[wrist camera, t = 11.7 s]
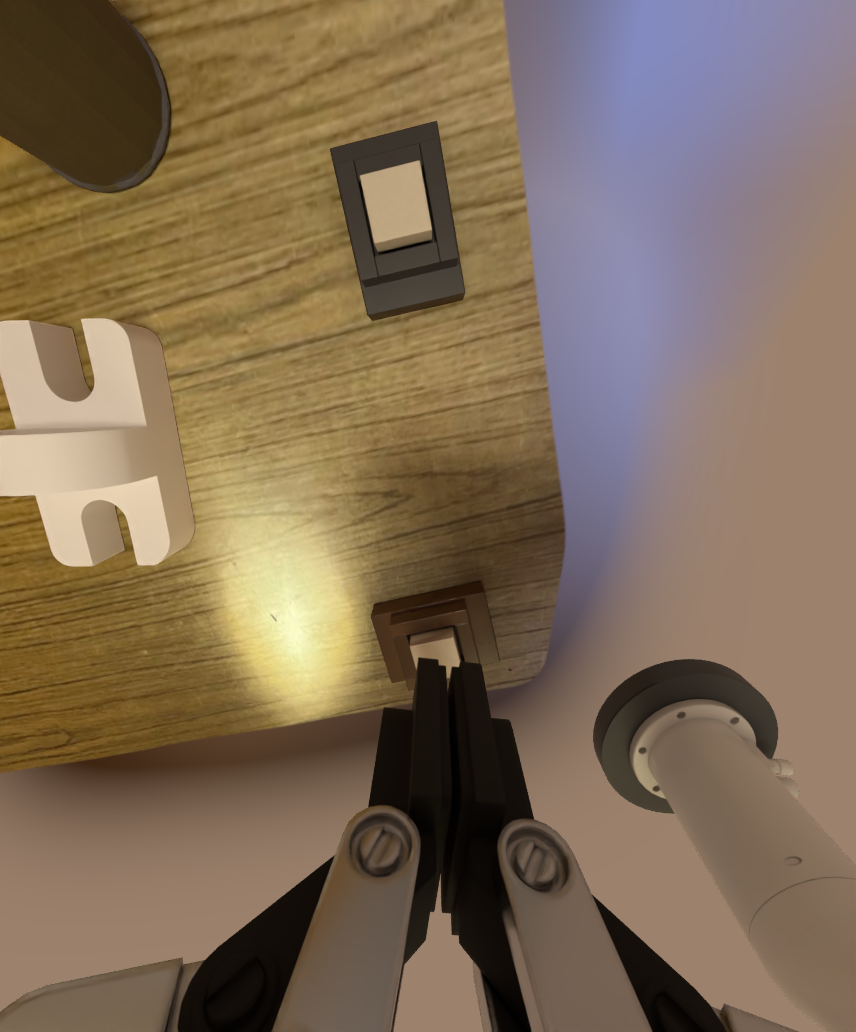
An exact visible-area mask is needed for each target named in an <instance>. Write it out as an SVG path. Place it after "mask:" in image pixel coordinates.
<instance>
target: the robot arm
mask: <svg viewBox="0 0 856 1032" xmlns="http://www.w3.org/2000/svg"><path fill="white" fill-rule="evenodd" d="M629 756H630V764H631V766H632V769H633V771H634V773H635V775H636V777H637V778H638V780H639V782H640V783H641V784H642V785H643V786H644V787H645V788H646V789H647V790H648V791H650V792H651V793H653V794H655V795H657V796H659V797H661V798H665V799H667V801H668V803H669V805H670V806H671V808H672V810H673V811H674V813H675V815H676V817H677V818H678V820H679V822H680V824H681V825H682V827H683V829H684V830H685V832H686V834H687V836H688V837H689V839H690V841H691V843H692V844H693V846H694V847H695V850H696V851H697V853H698V855H699V856H700V858H701V860H702V861H703V863H704V865H705V867H706V869H707V870H708V872H709V874H710V875H711V877H712V879H713V880H714V882H715V884H716V886H717V887H718V889H719V891H720V893H721V894H722V896H723V898H724V899H725V901H726V903H727V905H728V907H729V908H730V910H731V912H732V913H733V915H734V917H735V918H736V920H737V922H738V924H739V925H740V927H741V929H742V931H743V932H744V934H745V936H746V938H747V939H748V941H749V943H750V944H751V946H752V948H753V950H754V951H755V953H756V955H757V956H758V958H759V960H760V961H761V963H762V965H763V967H764V968H765V970H766V971H767V973H768V974H769V976H770V977H771V979H772V980H773V982H774V983H775V984H776V985H777V987H778V988H779V989H780V991H781V992H782V993H783V994H784V995H785V996H786V997H787V998H788V999H789V1001H790V1002H791V1003H792V1004H793V1005H794V1006H795V1007H796V1008H798V1009H799V1010H800V1011H801V1012H802V1013H803V1014H805V1015H806V1016H807V1017H808V1018H809V1019H810V1020H812V1021H813V1022H814V1023H816V1024H817V1025H819V1026H820V1027H821V1028H823V1029H824V1030H825V1031H827V1032H856V865H855V864H854V863H853V862H852V860H851V859H850V858H849V857H848V856H847V855H846V854H845V853H844V852H843V851H842V849H841V848H840V847H839V846H838V845H837V844H836V843H835V842H834V840H833V839H832V838H831V837H830V836H829V835H828V834H827V833H826V832H825V831H824V829H823V828H822V827H821V826H820V825H819V824H818V823H817V822H816V821H815V819H814V818H813V817H812V816H811V815H810V814H809V813H808V812H807V810H806V809H805V808H804V807H803V806H802V805H801V804H800V803H799V802H798V800H797V798H798V796H799V790H798V787H797V785H796V783H795V782H794V781H793V780H792V779H791V778H788V777H778V776H775V775H774V773H775V774H781V775H792V774H793V771H794V769H793V766H792V764H791V763H790V762H789V761H788V760H782V759H768V758H767V757H766V756H765V755H764V754H763V753H762V752H761V751H760V750H759V749H758V748H757V746H756V738H755V735H754V731H753V729H752V728H751V726H750V724H749V723H748V722H747V721H746V720H745V719H744V717H743V716H742V715H741V714H740V713H739V712H737V711H736V710H735V709H734V708H732V707H730V706H728V705H726V704H724V703H722V702H718V701H714V700H708V699H690V700H685V701H680V702H676V703H673V704H671V705H668V706H665V707H664V708H662V709H660V710H658V711H657V712H655V713H654V714H652V715H651V716H650V717H649V718H647V719H646V720H645V721H644V723H643V724H642V725H641V726H640V727H639V728H638V730H637V732H636V733H635V735H634V737H633V739H632V742H631V745H630V752H629ZM440 874H441V906H442V913H451V926H452V935H459V943H460V945H461V946H462V947H463V949H464V950H465V951H466V952H467V954H468V955H469V956H470V958H471V959H472V960H473V973H474V982H475V987H476V993H477V997H478V1004H479V1009H480V1015H481V1020H482V1026H483V1031H484V1032H798V1031H795V1030H792V1029H790V1028H787V1027H785V1026H782V1025H779V1024H777V1023H774V1022H771V1021H769V1020H766V1019H763V1018H761V1017H758V1016H755V1015H753V1014H750V1013H748V1012H745V1011H742V1010H739V1009H737V1008H734V1007H731V1006H729V1005H726V1004H724V1006H723V1008H722V1010H718V1009H716V1008H713V1007H711V1006H710V1005H709V1003H707V1001H706V1000H704V998H703V997H702V996H701V995H700V994H699V993H698V992H697V991H696V989H695V988H694V987H693V986H691V985H690V984H689V983H688V982H687V981H686V980H685V979H684V978H683V977H682V976H680V975H679V974H678V973H677V972H676V971H675V970H674V969H673V968H672V967H671V966H670V965H668V964H667V963H666V962H665V961H664V960H663V959H662V958H661V957H660V956H659V955H657V954H656V953H655V952H654V951H653V950H652V949H651V948H650V947H649V946H648V945H647V944H646V943H644V942H643V941H642V940H641V939H640V938H639V937H638V936H637V935H636V934H635V933H633V932H632V931H631V930H630V929H629V928H628V927H627V926H626V925H625V924H624V923H623V922H621V921H620V920H619V919H618V918H617V917H616V916H615V915H614V914H613V913H612V912H611V911H609V910H608V909H607V908H606V907H605V906H604V905H603V904H602V903H601V902H600V901H598V900H597V899H596V898H595V897H594V896H593V895H592V894H591V892H590V890H589V887H588V885H587V883H586V881H585V878H584V876H583V874H582V872H581V869H580V867H579V865H578V863H577V860H576V858H575V856H574V854H573V852H572V850H571V849H570V847H569V845H568V844H567V842H566V841H565V840H564V839H563V838H562V837H561V836H560V834H559V833H558V832H557V831H555V830H554V829H552V828H551V827H549V826H548V825H547V824H544V823H542V822H539V821H537V820H534V817H533V813H532V809H531V804H530V800H529V796H528V792H527V788H526V783H525V779H524V776H523V771H522V767H521V763H520V758H519V754H518V750H517V746H516V742H515V738H514V733H513V729H512V726H511V722H510V721H509V720H507V719H497V718H491V715H490V710H489V705H488V699H487V693H486V687H485V682H484V676H483V671H482V666H481V664H480V663H470V662H460V664H459V667H453V666H452V668H451V674H450V681H449V688H448V693H447V673H446V666H444V665H439V660H438V659H431V658H421V657H418V663H417V671H416V680H415V688H414V696H413V705H412V710H405V709H395V708H385V707H384V710H383V716H382V723H381V729H380V736H379V742H378V748H377V754H376V761H375V767H374V774H373V780H372V787H371V793H370V800H369V806H368V808H366V809H364V810H362V811H361V812H359V813H357V814H356V815H355V816H354V817H353V818H352V819H351V820H350V821H349V823H348V824H347V827H346V828H345V830H344V832H343V834H342V837H341V840H340V843H339V845H338V848H337V851H336V854H335V855H334V856H333V857H332V858H330V859H329V860H328V861H327V862H325V863H324V864H323V865H322V866H320V867H319V868H318V869H316V870H315V871H314V872H313V873H311V874H310V875H309V876H308V877H306V878H305V879H304V880H303V881H301V882H300V883H299V884H298V885H296V886H295V887H294V888H292V889H291V890H290V891H289V892H287V893H286V894H285V895H284V896H282V897H281V898H280V899H278V900H277V901H276V902H275V903H273V904H272V905H271V906H270V907H268V908H267V909H266V910H265V911H263V912H262V913H261V914H260V915H258V916H257V917H256V918H254V919H253V920H252V921H251V922H249V923H248V924H247V925H246V926H244V927H243V928H242V929H241V930H239V931H238V932H237V933H235V934H234V935H233V936H232V937H230V938H229V939H228V940H227V941H226V942H224V943H223V944H222V945H220V946H219V947H218V948H217V949H216V950H215V951H214V952H213V953H212V954H211V955H210V956H209V957H208V958H207V959H206V960H204V961H199V962H194V963H189V964H184V965H183V958H178V959H173V960H168V961H163V962H158V963H154V964H149V965H143V966H138V967H134V968H129V969H124V970H119V971H114V972H109V973H104V974H99V975H95V976H90V977H85V978H80V979H75V980H70V981H65V982H60V983H55V984H51V985H46V986H44V987H41V988H39V989H36V990H34V991H31V992H28V993H26V994H24V995H23V996H21V997H20V998H19V999H17V1000H16V1001H14V1002H13V1003H12V1004H10V1005H9V1006H7V1007H6V1008H4V1009H3V1010H2V1011H1V1012H0V1032H394V1026H395V1020H396V1014H397V1007H398V1001H399V995H400V989H401V983H402V977H403V971H404V964H405V963H406V962H407V961H408V960H409V959H410V958H411V956H412V955H413V954H414V953H415V952H416V951H417V949H418V948H419V947H420V946H421V945H422V944H423V943H424V941H425V940H426V934H427V928H428V921H429V915H430V912H434V910H435V904H436V898H437V892H438V886H439V880H440Z"/></svg>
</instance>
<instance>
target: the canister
mask: <svg viewBox="0 0 856 1032" xmlns="http://www.w3.org/2000/svg"><path fill="white" fill-rule="evenodd" d="M169 123H170V105H169V100H168V95H167V90H166V86H165V83H164V79H163V76H162V73H161V71H160V68H159V65H158V63H157V60H156V57H155V55H154V54H153V52H152V51H151V49H150V48H149V46H148V45H147V43H146V42H145V40H144V38H143V37H142V36H141V34H140V33H139V32H138V31H137V30H136V29H135V28H134V26H133V25H132V24H131V23H130V22H129V21H128V20H127V19H126V18H125V17H124V16H122V15H121V14H120V13H118V11H117V10H116V9H115V8H114V7H113V5H112V4H111V3H110V2H109V1H108V0H0V136H2V137H4V138H5V139H7V140H9V141H10V142H12V143H14V144H15V145H17V146H19V147H20V148H22V149H24V150H25V151H27V152H29V153H30V154H32V155H34V156H35V157H37V158H39V159H40V160H42V161H44V162H45V163H46V164H47V165H48V166H49V167H50V168H51V169H52V170H54V171H55V172H56V173H58V174H59V175H61V176H62V177H64V178H65V179H67V180H68V181H70V182H72V183H74V184H76V185H78V186H80V187H83V188H87V189H90V190H94V191H100V192H108V193H110V192H114V191H118V190H122V189H126V188H129V187H132V186H134V185H136V184H138V183H139V182H141V181H142V180H143V179H144V178H146V177H147V176H148V175H150V173H151V172H152V170H153V169H154V167H155V166H156V164H157V163H158V161H159V160H160V158H161V156H162V155H163V153H164V150H165V145H166V140H167V136H168V131H169Z"/></svg>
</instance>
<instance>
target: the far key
mask: <svg viewBox="0 0 856 1032" xmlns="http://www.w3.org/2000/svg"><path fill="white" fill-rule="evenodd" d="M410 649H411V653H412V656H413V660H414V663H415V667H416V670H417V663H418V657H421V658H431V659H438V660H439V665H444V666H446V673H447V678H450V674H451V668H452V666H453V667H459V664H460V662H462V660H461V656H460V652H459V649H458V645H457V641H456V637H455V633H454V629H453V626H450V627H445V628H441V629H436V630H431V631H426V632H422V633H417V634H412V635H411V638H410Z"/></svg>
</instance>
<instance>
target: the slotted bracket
mask: <svg viewBox="0 0 856 1032" xmlns="http://www.w3.org/2000/svg"><path fill="white" fill-rule="evenodd" d="M81 321H82V326H83V330H84V334H85V339H86V343H87V347H88V352H89V356H90V360H91V365H92V369H93V373H94V381H95V383H94V389H93V391H91V390H90V389H89V388H88V386H87V384H86V382H85V379H84V375H83V371H82V367H81V362H80V358H79V354H78V350H77V346H76V341H75V337H74V333H73V329H72V328H68V327H62V326H57V325H51V324H46V323H41V322H35V321H30V320H19V321H2V322H0V374H1V378H2V381H3V385H4V388H5V392H6V395H7V399H8V402H9V406H10V409H11V412H12V416H13V419H14V423H15V426H16V429H12V430H0V496H27V495H36V499H37V502H38V506H39V509H40V513H41V516H42V520H43V523H44V527H45V530H46V533H47V537H48V540H49V544H50V547H51V551H52V553H53V555H54V557H55V558H56V559H57V560H58V561H59V562H61V563H62V564H64V565H67V566H94V565H96V564H98V563H100V562H102V561H104V560H106V559H108V558H110V557H112V556H114V555H116V554H118V553H120V552H122V551H124V550H125V548H124V544H123V540H122V535H121V531H120V527H119V523H118V518H117V514H116V509H115V505H116V506H118V507H119V508H120V509H121V510H122V512H123V513H124V515H125V516H126V519H127V521H128V525H129V529H130V534H131V538H132V542H133V547H134V551H135V555H136V560H137V564H138V565H156V564H158V563H160V562H161V561H163V560H164V559H166V558H168V557H169V556H171V555H173V554H174V553H176V552H177V551H179V550H181V549H182V548H184V547H185V546H187V545H188V544H189V543H190V541H191V540H192V538H193V535H194V531H195V523H194V518H193V512H192V507H191V501H190V496H189V490H188V485H187V480H186V474H185V469H184V463H183V458H182V452H181V447H180V442H179V436H178V431H177V425H176V420H175V415H174V409H173V404H172V398H171V393H170V387H169V382H168V377H167V371H166V366H165V360H164V355H163V349H162V345H161V342H160V340H159V339H158V337H157V336H156V335H155V334H154V333H153V332H152V331H150V330H149V329H147V328H144V327H140V326H135V325H131V324H127V323H123V322H118V321H114V320H110V319H105V318H98V319H81Z"/></svg>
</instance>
